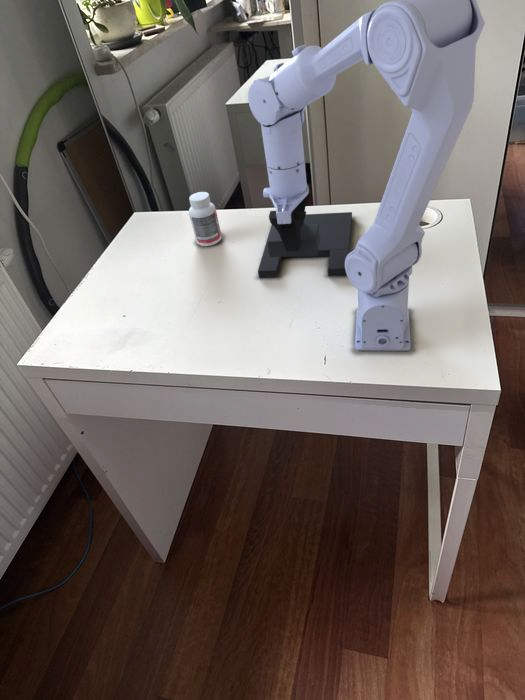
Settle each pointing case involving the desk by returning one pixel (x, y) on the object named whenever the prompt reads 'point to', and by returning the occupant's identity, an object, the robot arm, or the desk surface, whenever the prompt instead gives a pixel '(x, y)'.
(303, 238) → the small pad
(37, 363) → the desk surface
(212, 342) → the desk surface
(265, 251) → the big pad
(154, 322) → the desk surface
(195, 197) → the pill bottle
